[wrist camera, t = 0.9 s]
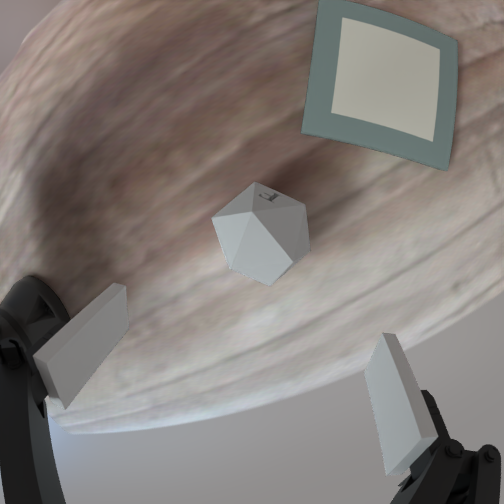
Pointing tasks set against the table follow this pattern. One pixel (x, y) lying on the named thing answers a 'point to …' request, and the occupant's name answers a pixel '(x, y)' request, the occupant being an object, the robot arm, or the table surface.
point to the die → (262, 233)
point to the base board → (382, 83)
